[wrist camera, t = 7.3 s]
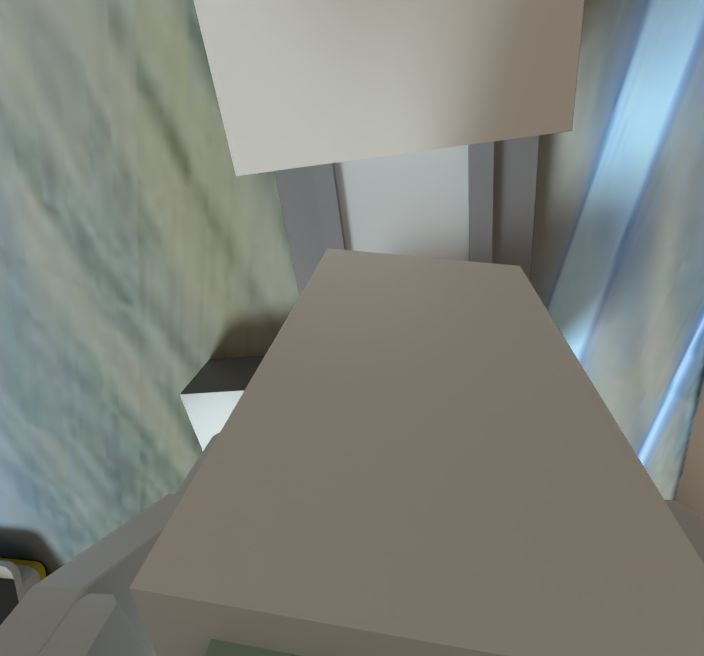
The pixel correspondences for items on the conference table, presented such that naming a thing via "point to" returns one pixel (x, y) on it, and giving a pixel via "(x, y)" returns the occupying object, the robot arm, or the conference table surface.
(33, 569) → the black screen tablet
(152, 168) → the conference table surface
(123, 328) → the conference table surface
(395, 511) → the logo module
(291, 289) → the conference table surface
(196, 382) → the grey cube-like block
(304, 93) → the rail base
